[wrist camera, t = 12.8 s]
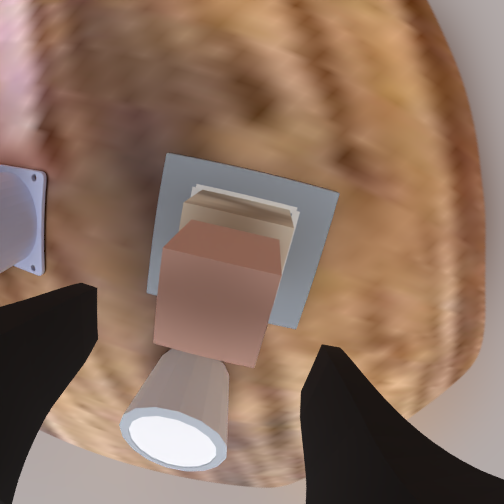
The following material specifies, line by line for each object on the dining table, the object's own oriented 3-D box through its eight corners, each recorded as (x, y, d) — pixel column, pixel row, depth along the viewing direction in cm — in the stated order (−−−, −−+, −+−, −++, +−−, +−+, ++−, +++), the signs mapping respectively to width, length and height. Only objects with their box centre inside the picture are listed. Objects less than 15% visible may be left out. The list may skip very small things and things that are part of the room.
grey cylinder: (179, 322, 21) (147, 390, 15) (256, 374, 22) (251, 448, 16) (136, 373, 23) (104, 435, 17) (205, 416, 24) (190, 482, 18)
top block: (179, 296, 15) (153, 343, 12) (191, 219, 14) (162, 247, 10) (258, 315, 15) (254, 368, 12) (279, 239, 14) (281, 275, 10)
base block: (187, 269, 19) (168, 299, 15) (202, 189, 18) (183, 202, 14) (267, 288, 19) (266, 323, 16) (289, 209, 18) (294, 228, 14)
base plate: (149, 288, 20) (146, 292, 20) (170, 152, 18) (166, 152, 17) (295, 324, 21) (296, 329, 20) (337, 192, 18) (339, 193, 17)
